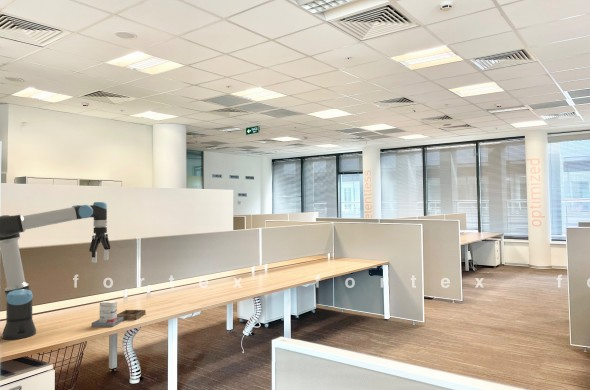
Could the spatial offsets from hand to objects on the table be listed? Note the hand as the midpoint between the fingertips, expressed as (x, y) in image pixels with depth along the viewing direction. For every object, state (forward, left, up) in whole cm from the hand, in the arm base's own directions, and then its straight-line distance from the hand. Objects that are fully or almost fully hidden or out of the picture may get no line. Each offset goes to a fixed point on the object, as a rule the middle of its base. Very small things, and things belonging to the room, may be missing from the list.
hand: (100, 261), depth 260 cm
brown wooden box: (+18, +2, -35) cm, 39 cm away
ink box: (+12, -12, -34) cm, 38 cm away
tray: (+12, -13, -35) cm, 39 cm away
